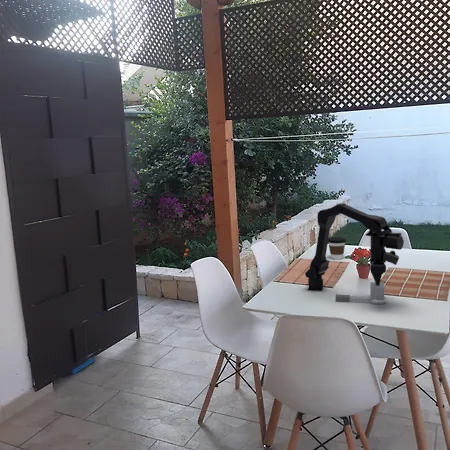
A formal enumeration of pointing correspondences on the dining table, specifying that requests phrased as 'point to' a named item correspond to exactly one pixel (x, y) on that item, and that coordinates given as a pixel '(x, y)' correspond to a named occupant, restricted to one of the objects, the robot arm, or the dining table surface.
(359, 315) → the dining table surface
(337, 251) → the coffee cup
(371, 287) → the gray block
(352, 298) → the gray handled tool
